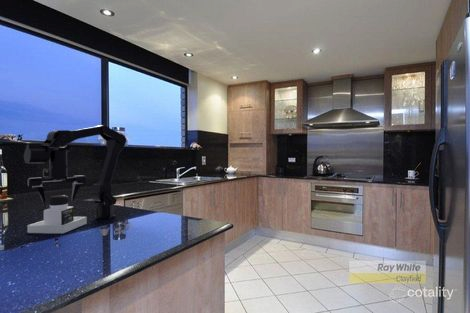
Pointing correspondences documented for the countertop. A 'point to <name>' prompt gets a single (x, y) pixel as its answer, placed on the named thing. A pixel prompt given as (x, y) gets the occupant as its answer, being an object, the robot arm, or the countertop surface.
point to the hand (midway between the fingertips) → (58, 202)
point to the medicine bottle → (58, 211)
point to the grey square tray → (56, 226)
